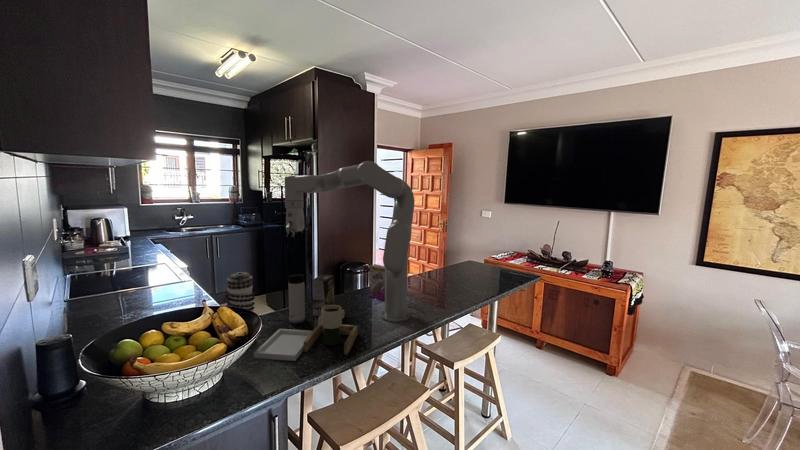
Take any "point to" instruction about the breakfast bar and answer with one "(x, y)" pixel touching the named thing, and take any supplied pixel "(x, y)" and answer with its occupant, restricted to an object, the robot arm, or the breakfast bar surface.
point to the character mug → (331, 323)
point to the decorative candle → (240, 291)
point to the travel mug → (296, 298)
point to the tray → (283, 345)
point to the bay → (344, 330)
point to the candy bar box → (377, 282)
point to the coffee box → (322, 293)
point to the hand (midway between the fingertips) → (295, 244)
